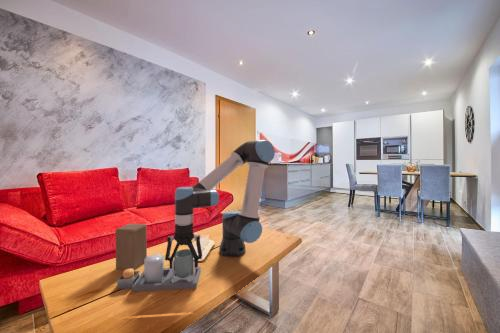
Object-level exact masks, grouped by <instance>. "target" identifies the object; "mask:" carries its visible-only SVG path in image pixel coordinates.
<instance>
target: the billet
mask: <svg viewBox="0 0 500 333" xmlns="http://www.w3.org/2000/svg"><path fill="white" fill-rule="evenodd" d="M164 264H165V257H164V255H163V254H161V253H160V254H157V253H156V254H151V255H147V257H146V258H145V259H144V264H143V265H144V266H143V267H144V268H143V271H144V284H153V283H162V282H163V281H164V268H165V265H164Z"/></svg>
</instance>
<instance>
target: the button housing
mask: <svg viewBox="0 0 500 333" xmlns="http://www.w3.org/2000/svg"><path fill="white" fill-rule="evenodd" d="M139 277H140V271H139V270H134V276H133V277H132V278H123V273H122V274H121V275H120V276H119V277H118V278H117V279H116V282H117V283H116V284H117V290H130V289H131V290H132V286H133V285H134V283H135V282H136V281H137V279H138V278H139Z"/></svg>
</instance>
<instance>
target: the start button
mask: <svg viewBox="0 0 500 333" xmlns="http://www.w3.org/2000/svg"><path fill="white" fill-rule="evenodd" d="M134 271H135V270H134V269H132V268H130V269H126V270H123V271H122V274H123V278H132V277H133V276H134Z"/></svg>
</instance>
